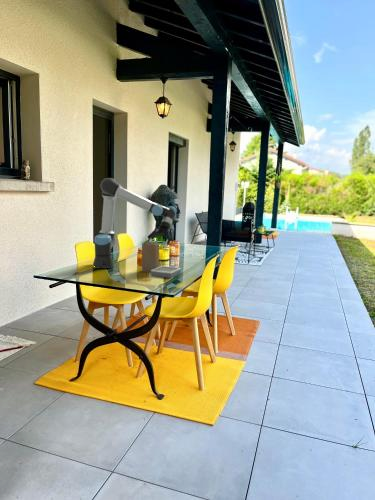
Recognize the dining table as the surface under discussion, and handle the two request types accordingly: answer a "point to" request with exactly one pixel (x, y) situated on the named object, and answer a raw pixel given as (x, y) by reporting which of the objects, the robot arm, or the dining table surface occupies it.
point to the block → (150, 256)
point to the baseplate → (165, 271)
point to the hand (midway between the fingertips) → (156, 247)
